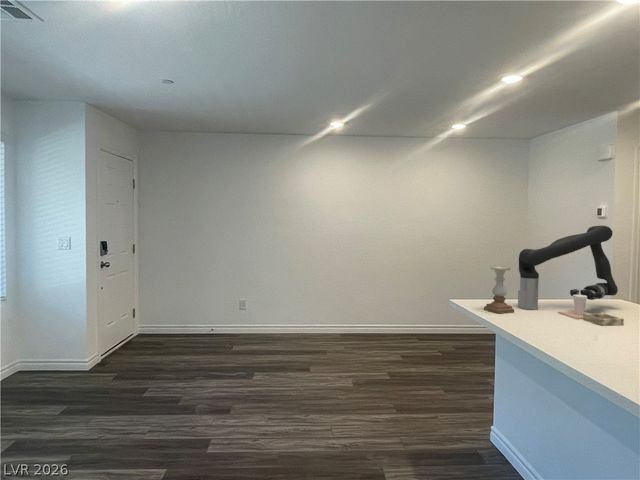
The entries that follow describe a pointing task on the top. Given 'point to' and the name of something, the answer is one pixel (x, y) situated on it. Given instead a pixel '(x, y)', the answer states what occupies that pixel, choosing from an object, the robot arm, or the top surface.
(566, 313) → the tile
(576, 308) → the smoothie
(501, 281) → the candle holder
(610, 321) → the square wooden tray
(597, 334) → the top surface
